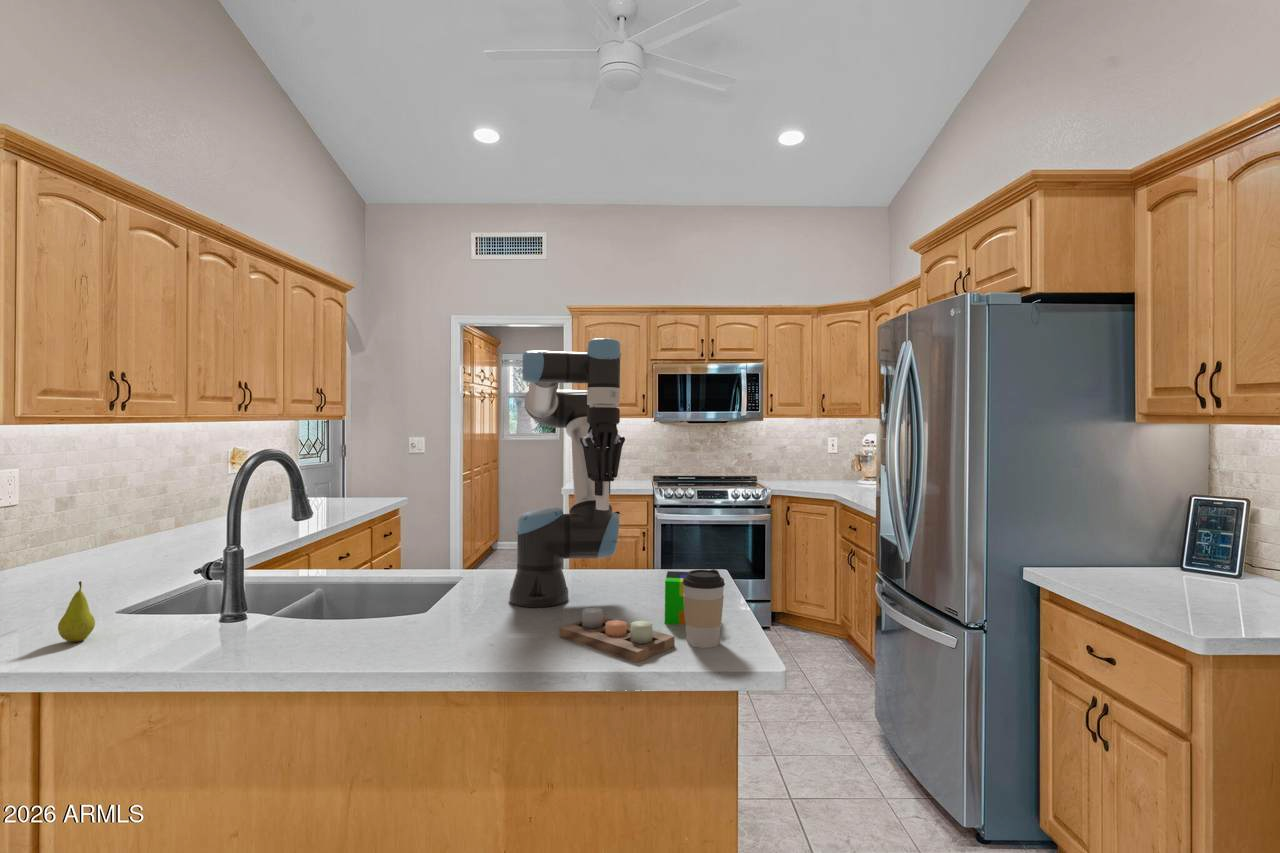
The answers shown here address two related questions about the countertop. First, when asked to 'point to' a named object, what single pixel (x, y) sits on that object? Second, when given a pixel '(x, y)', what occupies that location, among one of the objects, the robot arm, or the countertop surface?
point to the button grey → (592, 618)
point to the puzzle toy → (674, 598)
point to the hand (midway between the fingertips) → (602, 509)
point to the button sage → (641, 632)
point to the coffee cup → (703, 607)
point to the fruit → (76, 619)
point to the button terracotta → (616, 628)
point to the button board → (617, 641)
